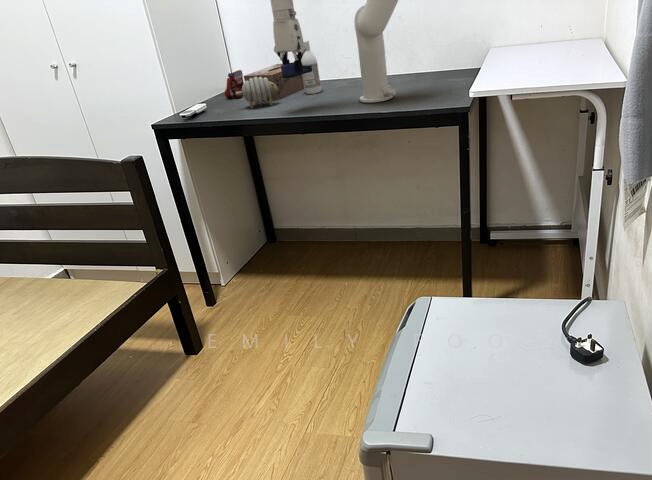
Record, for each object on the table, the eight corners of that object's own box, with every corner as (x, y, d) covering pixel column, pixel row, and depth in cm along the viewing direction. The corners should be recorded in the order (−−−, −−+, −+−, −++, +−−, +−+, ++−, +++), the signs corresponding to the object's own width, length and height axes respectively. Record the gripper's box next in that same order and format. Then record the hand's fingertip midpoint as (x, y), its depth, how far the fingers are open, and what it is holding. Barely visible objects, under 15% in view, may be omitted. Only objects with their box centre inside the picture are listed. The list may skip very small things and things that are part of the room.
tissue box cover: (281, 87, 255) (277, 63, 250) (308, 86, 249) (304, 62, 244) (248, 100, 236) (243, 75, 231) (276, 100, 230) (272, 74, 225)
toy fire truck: (223, 100, 243) (217, 75, 238) (239, 93, 253) (233, 69, 248) (236, 99, 241) (230, 74, 235) (251, 93, 250) (246, 68, 245)
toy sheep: (282, 104, 220) (277, 75, 215) (240, 112, 217) (233, 82, 212) (278, 100, 229) (273, 71, 224) (238, 107, 226) (231, 78, 221)
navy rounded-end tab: (302, 71, 207) (300, 59, 205) (312, 71, 205) (310, 59, 203) (279, 78, 199) (277, 66, 197) (290, 78, 196) (288, 66, 194)
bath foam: (322, 92, 233) (315, 40, 223) (306, 95, 232) (298, 43, 222) (319, 89, 239) (312, 39, 228) (304, 92, 238) (295, 41, 227)
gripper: (309, 12, 189) (318, 69, 198) (273, 15, 198) (283, 69, 208) (295, 15, 184) (304, 74, 193) (258, 18, 193) (269, 73, 203)
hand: (293, 71), depth 200 cm, fingers closed on navy rounded-end tab, 5 cm apart
